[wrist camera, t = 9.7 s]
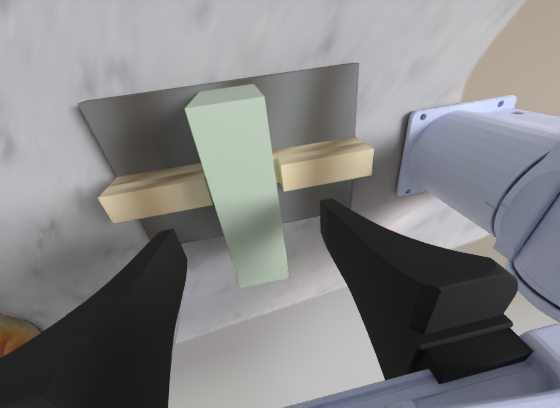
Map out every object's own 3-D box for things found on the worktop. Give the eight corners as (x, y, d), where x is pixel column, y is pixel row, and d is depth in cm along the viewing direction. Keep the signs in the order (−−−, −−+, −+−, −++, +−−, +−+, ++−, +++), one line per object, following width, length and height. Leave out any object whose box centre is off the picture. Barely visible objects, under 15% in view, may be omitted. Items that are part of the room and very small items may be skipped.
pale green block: (275, 227, 22) (289, 277, 17) (238, 235, 22) (240, 288, 17) (253, 83, 16) (264, 96, 11) (199, 91, 15) (184, 108, 10)
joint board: (352, 62, 17) (382, 64, 14) (346, 204, 23) (365, 229, 20) (85, 100, 15) (45, 113, 12) (157, 241, 22) (144, 275, 18)
